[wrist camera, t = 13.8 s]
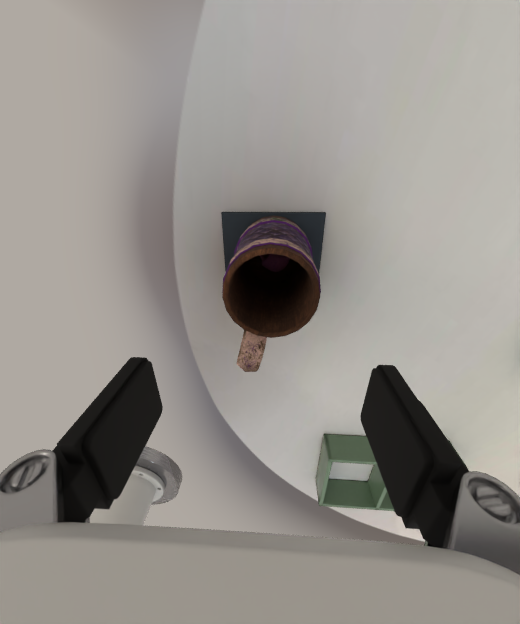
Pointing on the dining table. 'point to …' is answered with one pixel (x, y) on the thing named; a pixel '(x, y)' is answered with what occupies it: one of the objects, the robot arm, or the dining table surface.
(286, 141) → the dining table surface
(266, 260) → the mug
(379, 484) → the divided box
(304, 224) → the mat
